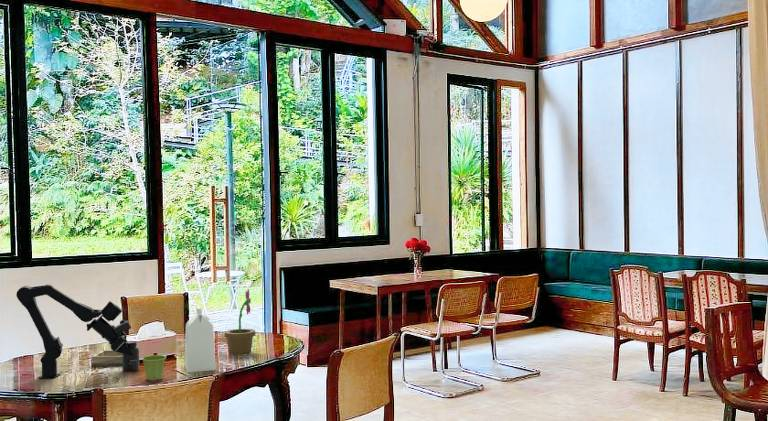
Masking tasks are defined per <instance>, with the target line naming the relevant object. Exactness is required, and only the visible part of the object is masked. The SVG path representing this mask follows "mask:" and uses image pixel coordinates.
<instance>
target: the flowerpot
mask: <svg viewBox="0 0 768 421" xmlns="http://www.w3.org/2000/svg"><path fill="white" fill-rule="evenodd" d="M245 299H246V300H245V301H244V302H243V304H242V306H241V308H240V310H239V317H238V328H235V329H228V330H225V331H224V337H225V338H226V339H227V347H228V354H229V355H231V356H246V355H245V354H247V355H250V354H251V353H252V348H253V339H254V338H253V337H255V336H256V330H255V329H254V328H253V329H252V328H242V317H243V310H244V308H245V306H246V309H245V310H246V315H247V316H248V315H249V314H251V306H250V304H251V303H252V302H251V301H252V300H251V299H252V298H251V297H250V289H247V290H245ZM249 353H250V354H249Z"/></svg>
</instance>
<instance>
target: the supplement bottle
mask: <svg viewBox="0 0 768 421" xmlns="http://www.w3.org/2000/svg"><path fill="white" fill-rule="evenodd" d="M137 343H138V342H137V341H136V340H127V342H126V345H127V346H128V347H129V349H130V350H131V351H132V352H133V354H134V355H133V356H129V355H126V354H122V365H121V366H122V367H121V368H122V372H135V371H139V370H140V349H139V348H138V347H137V346H138V345H137Z"/></svg>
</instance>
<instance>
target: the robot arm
mask: <svg viewBox="0 0 768 421" xmlns="http://www.w3.org/2000/svg"><path fill="white" fill-rule="evenodd" d="M15 295H16V298H17V300H18V301H19V302H20V304H21V305H22V306H23V307H24V308H25V309H26V310H27V312H28V314H29V316H30V318H31V319H32V322H33V324H34V326H35V327H36V330H37V332H38V334H39V336H40V337H41V339H42V344H43V348H44V351H45V352H44V354H43V355H41V358H40V363H41V375H40V376H38V377H37V378H38V379H55V378H57V377H58V376H61V373H58V361H57V359H59V357H60V356H61V355H62V353H63V346H64V344H63V343H62V342H61V340H60V337H59V336H57V337H55V336H54V335H53V334H52V331H51V330H50V328H49V325H48V324H47V321H46V320H45V318H44V315H43V314H42V312H41V310H40V308H39V306H38V304H37V303H38V302H37V299H36V298H37V297H42V296H48V297H49V298H51V299H53V300H54V301H56V302H57V303H59V304H60V305H62V306H64V307H65V308H66V309H69V310H70V311H71V312H73V314H74V315H75V316H76V317H77V318H78V319H80V321H81V322H83V323H86V331H87V332H89V331H90V330H91V329H92V330H93V331H95V332H96V333H97V334H98V335H100V336H101V338H102V339H103V340H105V341H107V342H108V344H109V345H110V350H113V351H115V352H119V353H122V354H126V355H129V356H133V355H134V354H133V352H132V351H131V350H130V349H129V347H128V346H127V345H126V342H127V341H128V340H127V334H126V332H125V331H129V330H131V329H132V326H131V324H130V322H129V320H124V319H122V320H121V319H120V321H119V324H118V325H116V326H115V325H114V324H113V325H112V324H110V323H109V322H111V321H112V322H114V321H115V320H116V319H117V318H118V317H119V316H120V315H121V313H123V310H122V308H120V307H119V306H118V305H117V304H115V303H114V302H112V301H108V302H107V304H106V305H105V306H104V307H103V308H102V309H95V308H94V307H91V306H89V305H86V304H84V303H82V302H81V303H80V302H79V301H76V300H74V299H73V298H72V297H70V296H68V295H66V294H65V293H63V292H61V291H60V290H59V289H57V288H56V287H54V286H53V285H52V284H50V283H49V284H45V285H38V286H29V285H24V286H22V287H19V289H17V291H16V294H15ZM96 318H97V319H96Z"/></svg>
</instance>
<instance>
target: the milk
mask: <svg viewBox="0 0 768 421" xmlns="http://www.w3.org/2000/svg"><path fill="white" fill-rule="evenodd" d="M202 313H203V312H202V308H201V307H200V306H196V311H195V314H194V315H192V317H190V319H188V320H187V322H186V323H185V339H184V340H185V343H184V368H185V371H186V373H195V372H196V373H197V372H206V371H207V372H208V371H215V370H216V357H215V356H216V354H215V335H214V325H213V323H212V322H211V321H210V317H208V316H207V315H206V314H204V315H203V314H202Z"/></svg>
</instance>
